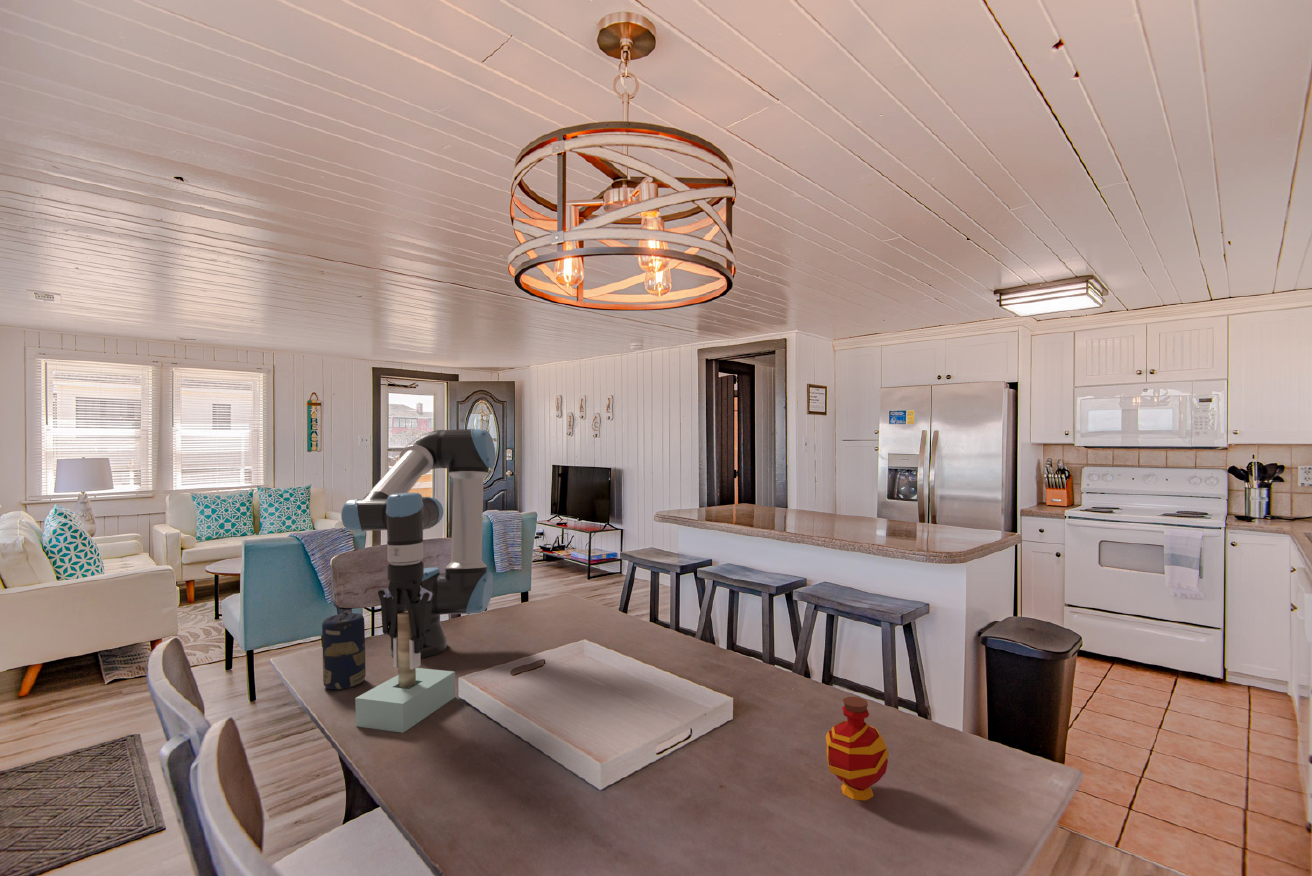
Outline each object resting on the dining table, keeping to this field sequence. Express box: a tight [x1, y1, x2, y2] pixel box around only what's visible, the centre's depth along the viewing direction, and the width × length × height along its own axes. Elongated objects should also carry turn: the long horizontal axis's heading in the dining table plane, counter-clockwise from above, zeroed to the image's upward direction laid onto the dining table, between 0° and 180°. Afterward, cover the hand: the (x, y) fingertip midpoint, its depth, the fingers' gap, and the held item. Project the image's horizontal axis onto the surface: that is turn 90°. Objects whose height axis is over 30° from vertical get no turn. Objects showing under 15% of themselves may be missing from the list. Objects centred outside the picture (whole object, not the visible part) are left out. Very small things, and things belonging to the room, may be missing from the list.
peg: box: [397, 611, 417, 688], centre depth 135 cm, size 4×4×16 cm
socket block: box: [354, 667, 456, 734], centre depth 135 cm, size 18×12×6 cm, turn 164°
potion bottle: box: [825, 696, 889, 801], centre depth 101 cm, size 10×10×15 cm
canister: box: [321, 611, 367, 690], centre depth 151 cm, size 10×10×18 cm
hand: (407, 666), depth 135 cm, fingers closed on peg, 3 cm apart
